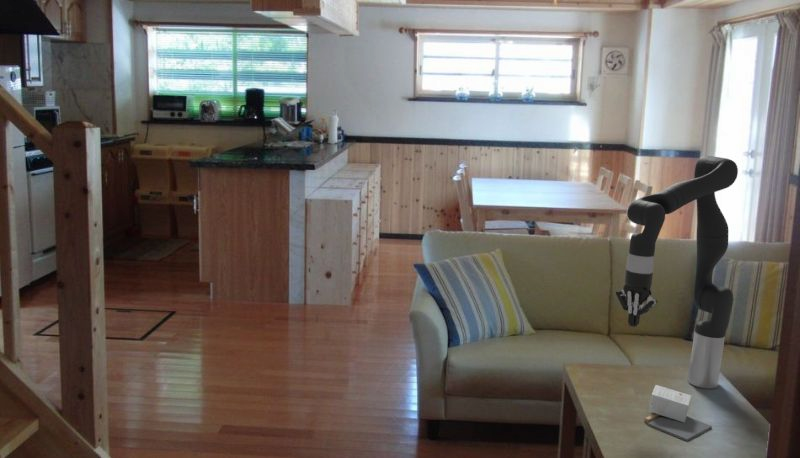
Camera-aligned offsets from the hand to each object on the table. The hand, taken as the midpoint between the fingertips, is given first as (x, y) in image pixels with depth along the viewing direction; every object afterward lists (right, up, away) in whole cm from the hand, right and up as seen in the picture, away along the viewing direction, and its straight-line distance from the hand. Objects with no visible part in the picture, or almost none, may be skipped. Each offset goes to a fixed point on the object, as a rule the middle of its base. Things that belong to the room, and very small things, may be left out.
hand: (633, 325), depth 226 cm
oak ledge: (+6, -26, -3) cm, 27 cm away
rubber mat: (+11, -28, -8) cm, 31 cm away
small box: (+5, -21, 0) cm, 22 cm away
